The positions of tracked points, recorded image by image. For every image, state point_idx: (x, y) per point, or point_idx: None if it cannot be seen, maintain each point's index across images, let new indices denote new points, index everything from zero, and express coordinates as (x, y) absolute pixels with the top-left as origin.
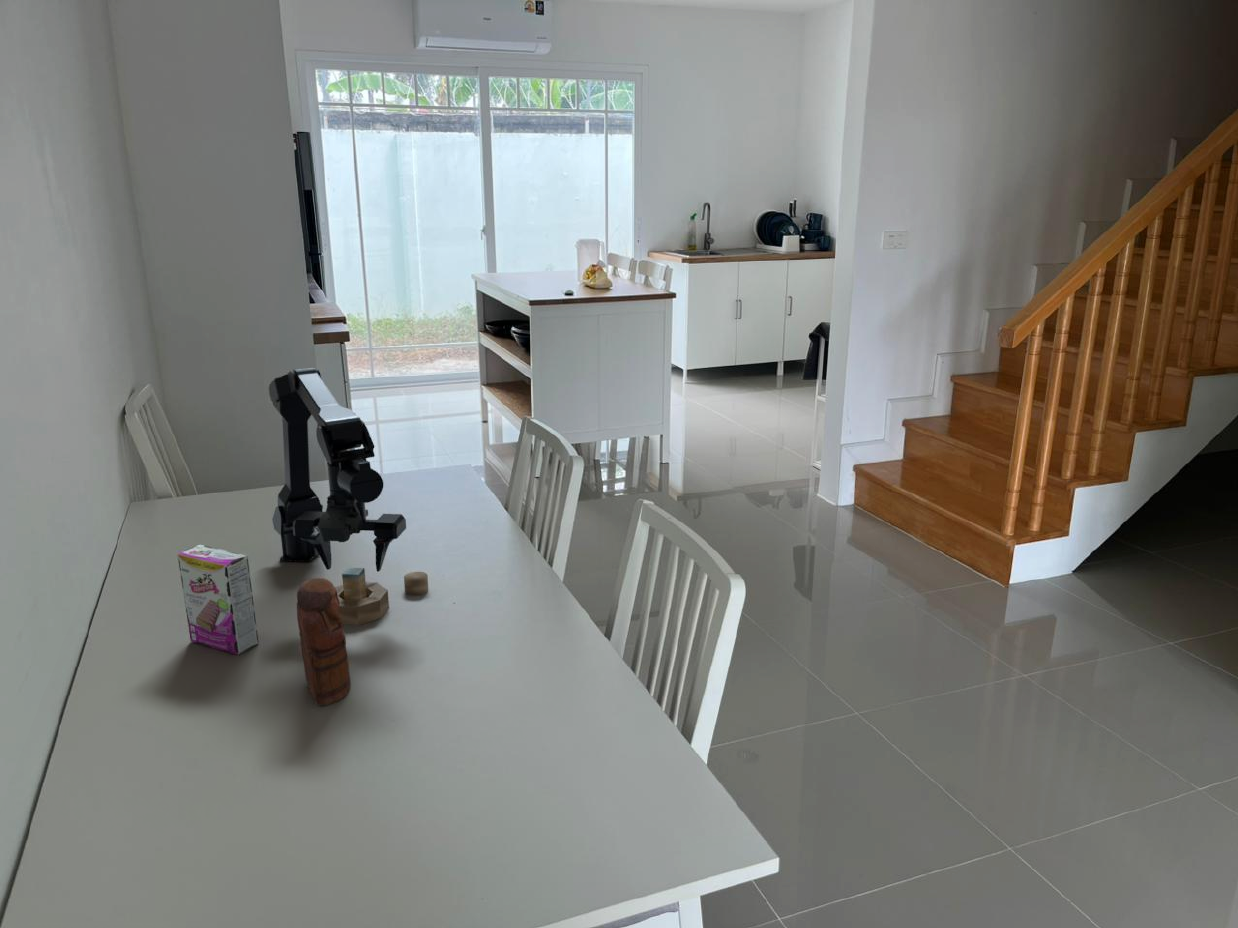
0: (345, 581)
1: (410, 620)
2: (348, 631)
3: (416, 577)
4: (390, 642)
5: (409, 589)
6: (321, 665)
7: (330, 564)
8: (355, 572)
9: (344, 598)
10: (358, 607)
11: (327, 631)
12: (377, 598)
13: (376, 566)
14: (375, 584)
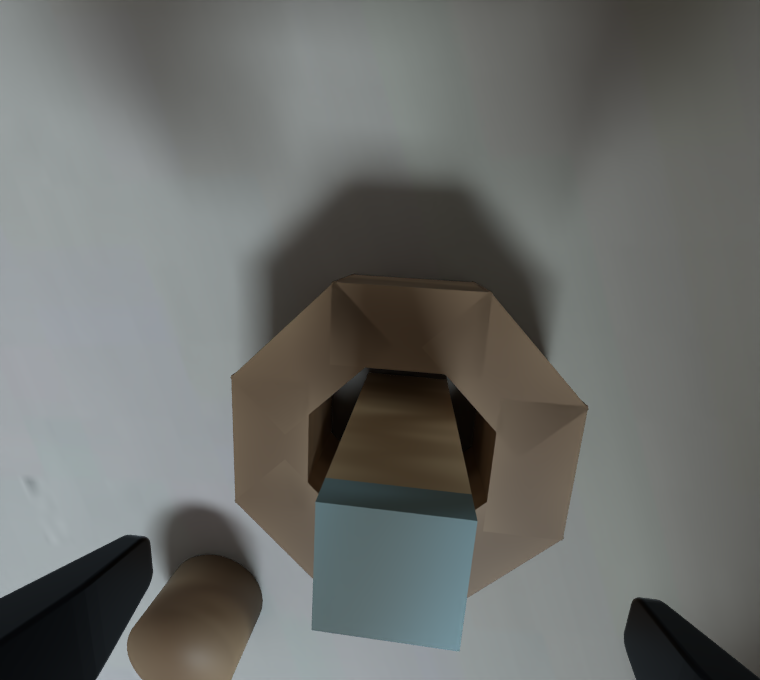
0: (444, 474)
1: (139, 328)
2: (381, 203)
3: (171, 646)
4: (141, 94)
5: (217, 579)
6: None
7: (644, 671)
8: (357, 546)
9: (453, 413)
10: (328, 289)
11: None
12: (251, 397)
13: (98, 570)
14: None
